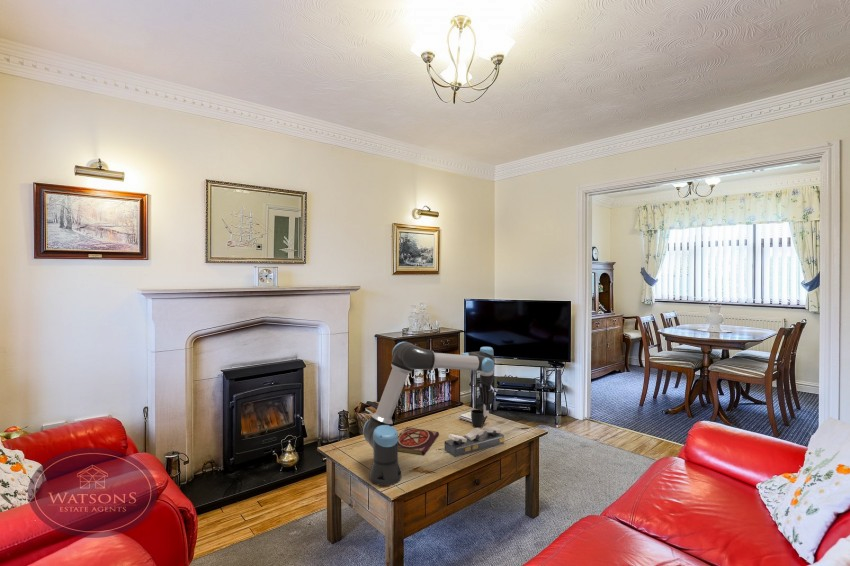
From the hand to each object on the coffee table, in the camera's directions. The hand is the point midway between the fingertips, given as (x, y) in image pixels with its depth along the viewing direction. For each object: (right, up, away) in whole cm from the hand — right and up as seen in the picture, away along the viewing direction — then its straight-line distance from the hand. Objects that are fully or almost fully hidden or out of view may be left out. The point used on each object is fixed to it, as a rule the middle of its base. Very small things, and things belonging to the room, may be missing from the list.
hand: (486, 415), depth 240 cm
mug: (0, -16, +28) cm, 32 cm away
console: (-7, -17, -3) cm, 18 cm away
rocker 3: (+3, -11, +2) cm, 12 cm away
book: (-41, -17, +2) cm, 44 cm away
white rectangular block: (-7, -11, -3) cm, 14 cm away
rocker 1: (-18, -12, -10) cm, 23 cm away
